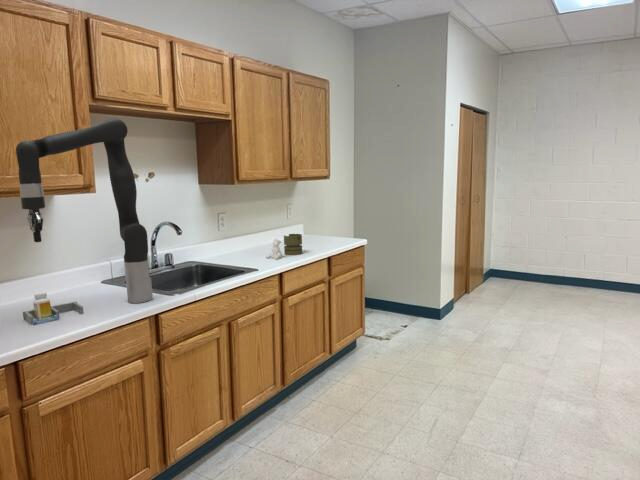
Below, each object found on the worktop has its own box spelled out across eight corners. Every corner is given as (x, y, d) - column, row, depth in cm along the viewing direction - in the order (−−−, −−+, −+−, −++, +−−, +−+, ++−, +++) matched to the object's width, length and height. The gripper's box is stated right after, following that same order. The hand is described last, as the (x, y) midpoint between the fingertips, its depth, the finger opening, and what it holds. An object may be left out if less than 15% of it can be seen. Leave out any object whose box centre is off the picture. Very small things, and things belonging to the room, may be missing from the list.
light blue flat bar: (58, 319, 181) (57, 314, 181) (59, 319, 180) (58, 315, 180) (32, 324, 175) (32, 319, 175) (33, 325, 174) (32, 320, 174)
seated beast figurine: (265, 258, 290) (264, 239, 288) (275, 256, 296) (274, 237, 294) (275, 260, 284) (274, 240, 282) (286, 258, 290) (285, 238, 288)
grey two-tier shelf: (77, 308, 194) (76, 301, 194) (84, 313, 187) (84, 306, 187) (23, 319, 182) (22, 311, 181) (29, 325, 175) (28, 317, 174)
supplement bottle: (55, 317, 182) (51, 291, 182) (47, 319, 177) (43, 293, 177) (41, 319, 182) (37, 293, 182) (33, 321, 177) (28, 295, 177)
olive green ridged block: (280, 235, 300) (290, 233, 309) (280, 254, 302) (291, 251, 311) (295, 236, 294) (305, 234, 303) (295, 256, 296) (305, 252, 305)
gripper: (48, 195, 176) (53, 242, 179) (39, 194, 186) (44, 239, 188) (25, 197, 171) (30, 245, 174) (16, 196, 181) (22, 241, 183)
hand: (37, 241), depth 181 cm, fingers closed
